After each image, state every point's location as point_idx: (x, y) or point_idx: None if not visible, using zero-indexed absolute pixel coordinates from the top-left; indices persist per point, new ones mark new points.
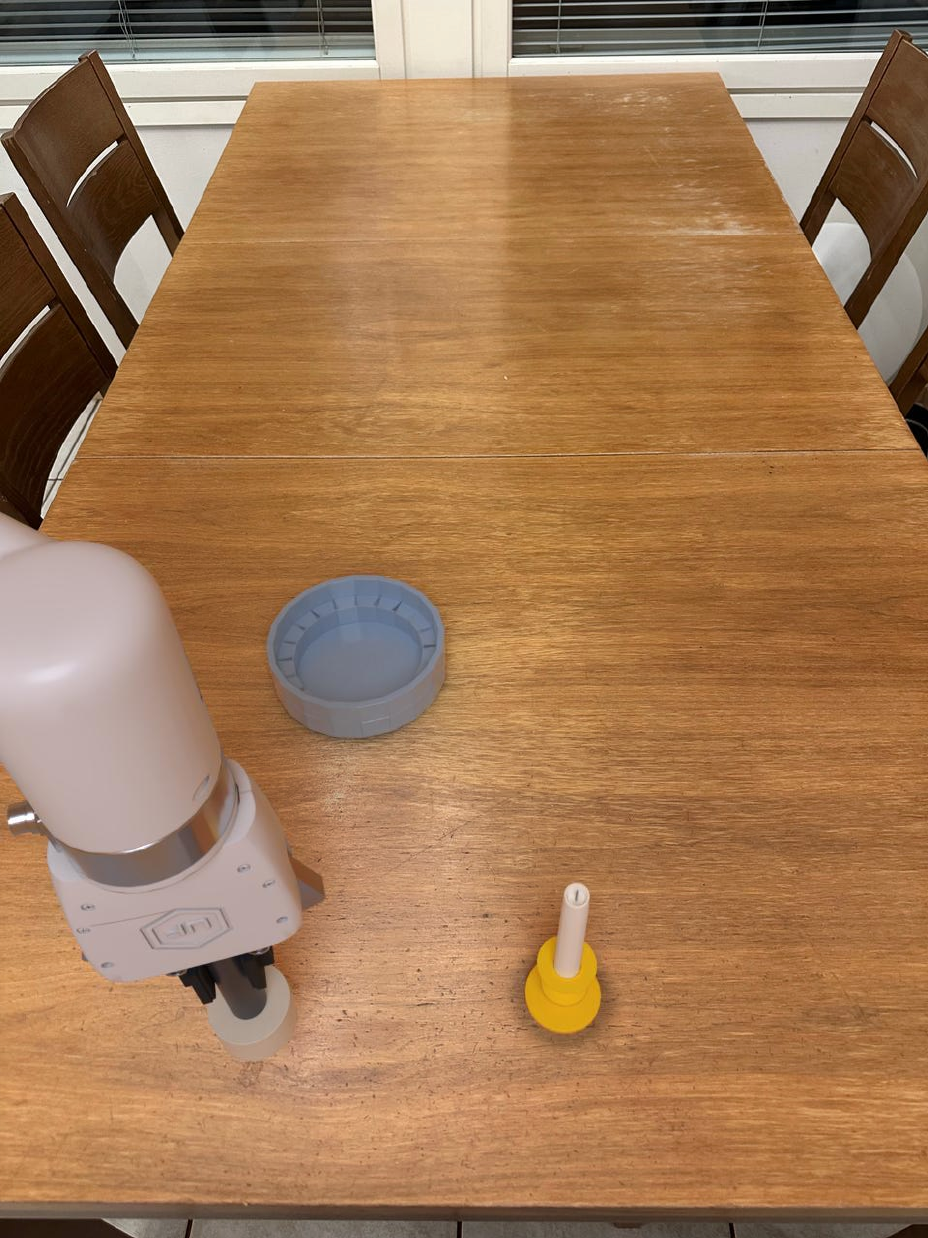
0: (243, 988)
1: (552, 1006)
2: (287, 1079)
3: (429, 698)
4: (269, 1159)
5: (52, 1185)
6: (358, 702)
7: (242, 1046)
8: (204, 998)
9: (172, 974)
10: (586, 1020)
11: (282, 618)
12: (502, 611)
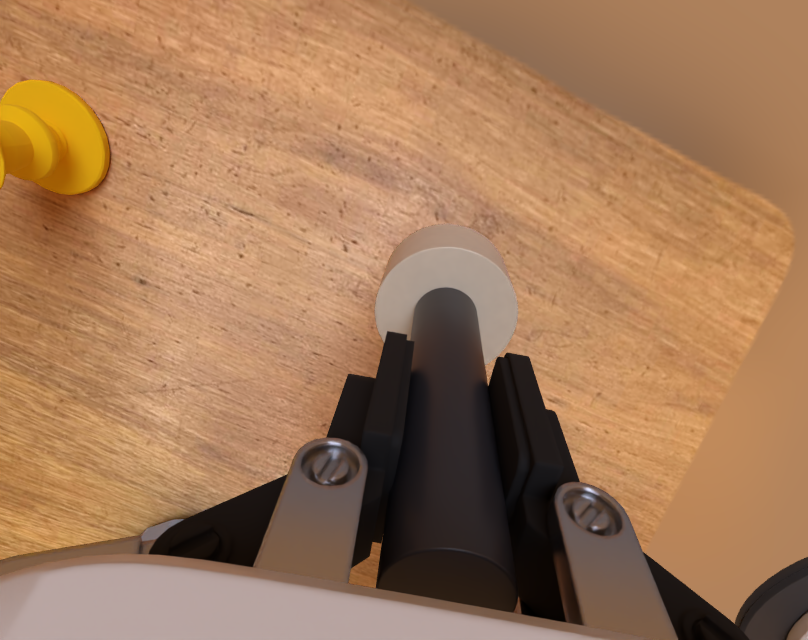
0: (436, 349)
1: (66, 127)
2: (440, 201)
3: (145, 537)
4: (497, 110)
5: (762, 209)
6: None
7: (479, 251)
8: (524, 372)
9: (600, 497)
10: (22, 86)
11: None
12: None
